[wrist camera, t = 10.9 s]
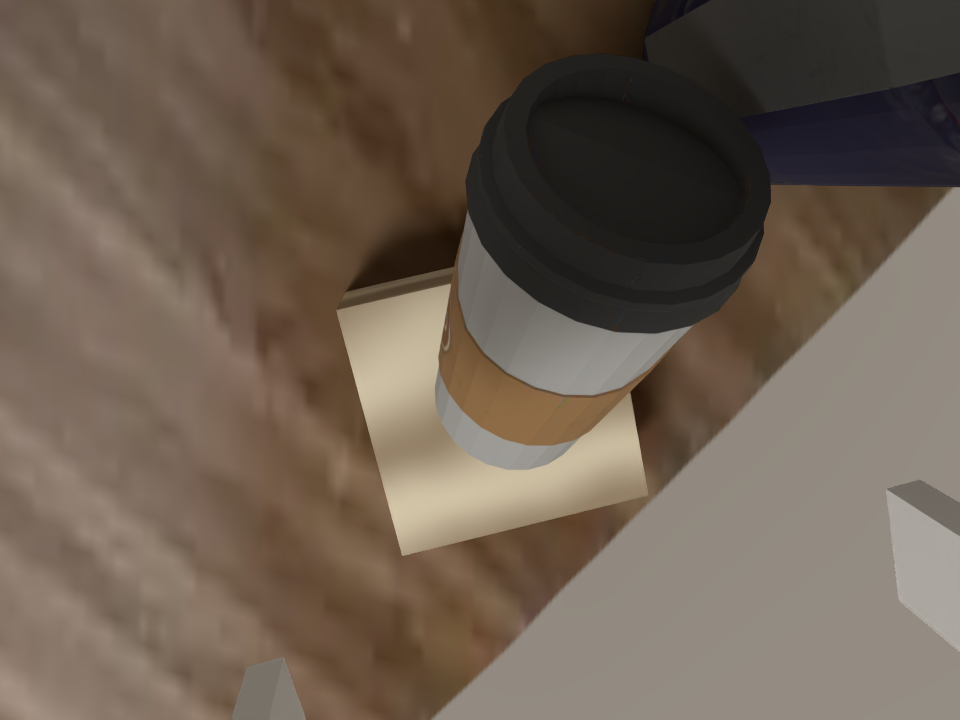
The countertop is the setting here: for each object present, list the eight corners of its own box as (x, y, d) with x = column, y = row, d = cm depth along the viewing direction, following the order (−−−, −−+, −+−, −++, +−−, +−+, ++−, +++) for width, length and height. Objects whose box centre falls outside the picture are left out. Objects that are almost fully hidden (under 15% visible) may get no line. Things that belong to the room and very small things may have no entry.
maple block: (346, 290, 39) (336, 310, 33) (575, 237, 39) (604, 247, 34) (402, 503, 42) (402, 555, 36) (614, 451, 42) (648, 495, 36)
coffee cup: (446, 295, 35) (532, 2, 22) (618, 361, 35) (803, 108, 22) (378, 454, 30) (435, 202, 17) (575, 529, 30) (774, 334, 18)
